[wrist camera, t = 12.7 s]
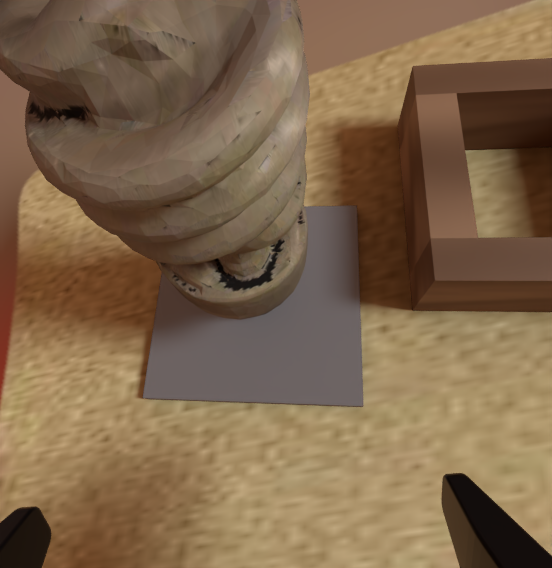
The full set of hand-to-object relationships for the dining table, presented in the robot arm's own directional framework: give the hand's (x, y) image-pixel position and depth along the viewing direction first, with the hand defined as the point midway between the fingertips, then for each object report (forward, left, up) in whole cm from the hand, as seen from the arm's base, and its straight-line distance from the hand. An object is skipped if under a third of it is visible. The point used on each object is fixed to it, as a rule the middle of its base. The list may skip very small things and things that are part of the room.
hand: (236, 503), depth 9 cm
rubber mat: (+8, +1, -9) cm, 12 cm away
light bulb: (+8, +1, -9) cm, 12 cm away
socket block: (+13, -12, -9) cm, 20 cm away
